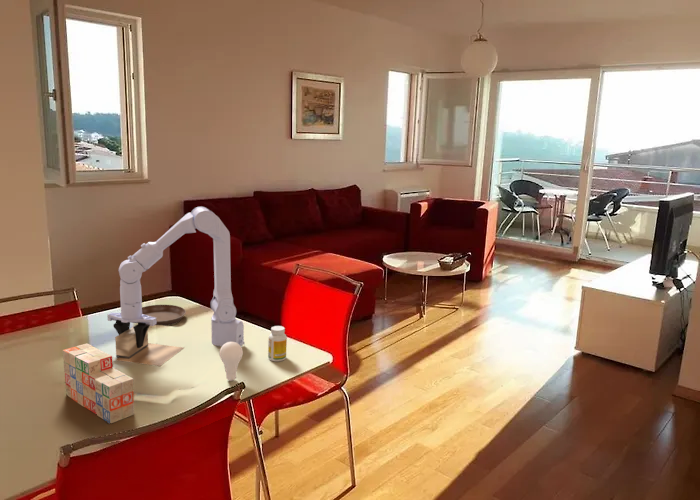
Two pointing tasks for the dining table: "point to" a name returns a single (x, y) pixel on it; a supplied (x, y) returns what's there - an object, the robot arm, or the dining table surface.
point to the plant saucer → (164, 313)
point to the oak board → (153, 354)
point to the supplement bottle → (277, 344)
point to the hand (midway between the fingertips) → (132, 345)
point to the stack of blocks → (98, 383)
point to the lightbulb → (231, 358)
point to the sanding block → (128, 344)
